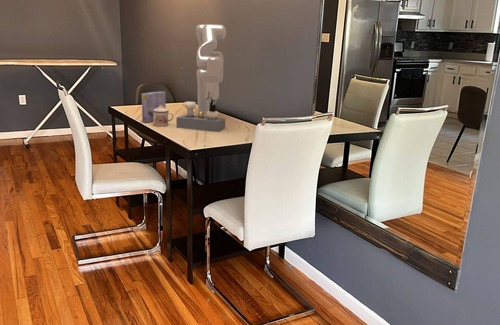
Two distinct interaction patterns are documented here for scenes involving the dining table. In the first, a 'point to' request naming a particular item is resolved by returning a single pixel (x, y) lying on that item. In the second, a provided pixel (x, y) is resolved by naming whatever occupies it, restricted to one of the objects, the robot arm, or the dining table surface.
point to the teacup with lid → (161, 116)
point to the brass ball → (200, 114)
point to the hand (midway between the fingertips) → (212, 111)
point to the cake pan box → (151, 104)
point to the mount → (200, 123)
